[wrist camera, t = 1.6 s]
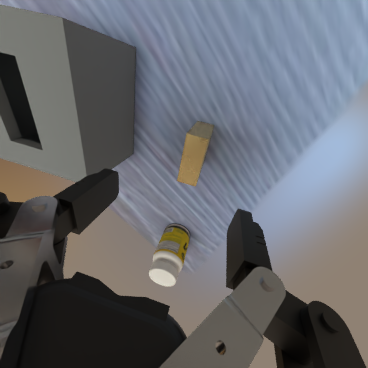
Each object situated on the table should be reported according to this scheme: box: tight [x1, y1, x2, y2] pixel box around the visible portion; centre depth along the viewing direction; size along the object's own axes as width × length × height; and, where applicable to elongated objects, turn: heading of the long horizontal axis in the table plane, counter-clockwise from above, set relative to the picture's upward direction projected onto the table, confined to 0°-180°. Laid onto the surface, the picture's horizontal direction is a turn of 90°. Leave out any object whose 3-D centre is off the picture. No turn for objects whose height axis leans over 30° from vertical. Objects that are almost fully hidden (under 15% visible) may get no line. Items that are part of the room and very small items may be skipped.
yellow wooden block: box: [177, 121, 214, 186], centre depth 18 cm, size 5×2×6 cm, turn 169°
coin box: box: [0, 5, 136, 182], centre depth 17 cm, size 12×12×9 cm
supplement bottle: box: [149, 224, 190, 286], centre depth 26 cm, size 5×5×8 cm
